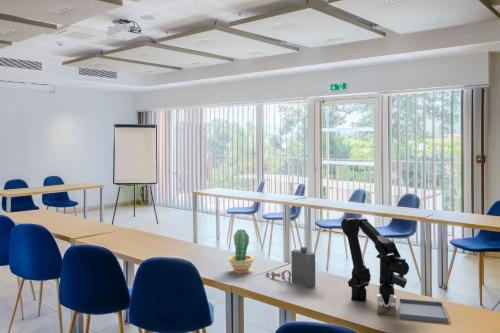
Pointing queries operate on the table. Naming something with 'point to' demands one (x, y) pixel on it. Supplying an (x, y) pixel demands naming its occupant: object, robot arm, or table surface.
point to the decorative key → (280, 275)
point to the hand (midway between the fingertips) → (386, 303)
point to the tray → (422, 310)
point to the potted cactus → (241, 253)
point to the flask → (303, 267)
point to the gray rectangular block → (391, 299)
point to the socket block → (386, 309)
